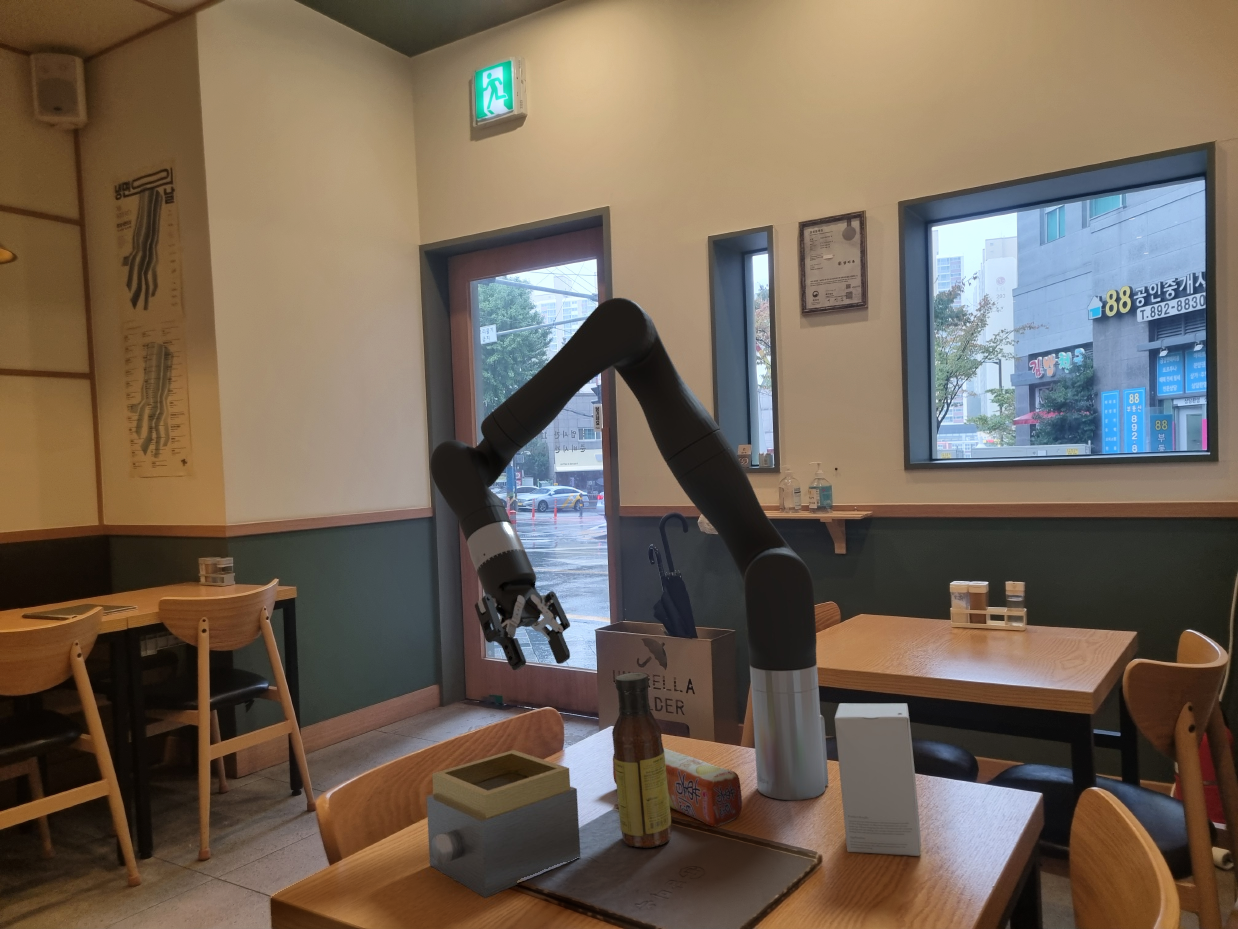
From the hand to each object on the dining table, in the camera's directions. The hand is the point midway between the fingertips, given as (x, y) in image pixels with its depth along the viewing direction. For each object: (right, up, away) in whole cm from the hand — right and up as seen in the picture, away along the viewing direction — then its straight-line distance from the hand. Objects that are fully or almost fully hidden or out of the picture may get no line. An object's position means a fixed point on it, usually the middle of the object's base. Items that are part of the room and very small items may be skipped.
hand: (543, 664), depth 114 cm
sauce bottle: (+13, -19, -11) cm, 26 cm away
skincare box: (+41, -17, -17) cm, 47 cm away
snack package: (+18, -19, +1) cm, 27 cm away
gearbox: (-3, -19, -15) cm, 25 cm away
